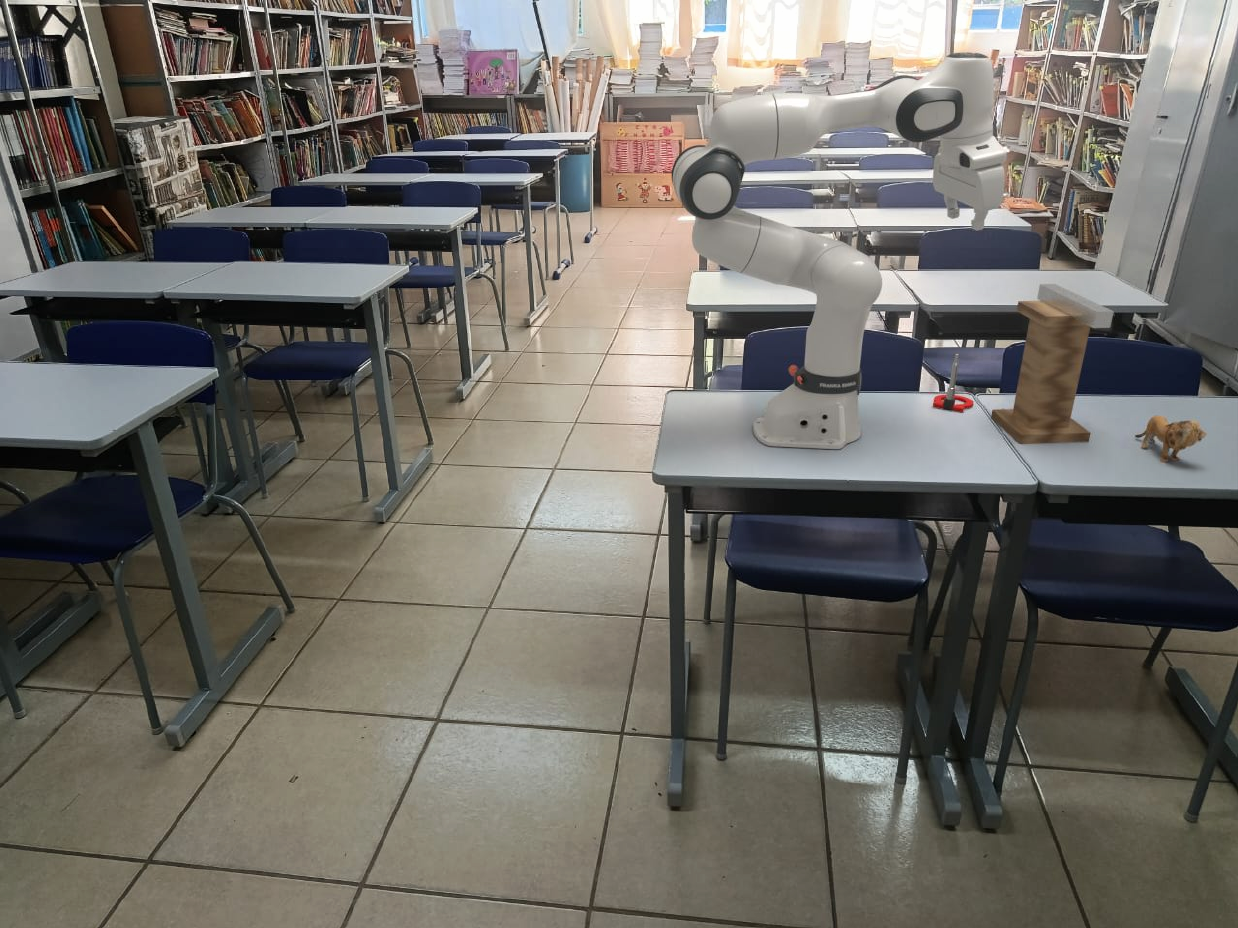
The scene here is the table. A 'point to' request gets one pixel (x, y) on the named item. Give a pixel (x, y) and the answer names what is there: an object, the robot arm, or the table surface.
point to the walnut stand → (1047, 378)
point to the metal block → (1075, 306)
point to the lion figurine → (1172, 435)
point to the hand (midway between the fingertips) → (965, 223)
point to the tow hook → (952, 394)
